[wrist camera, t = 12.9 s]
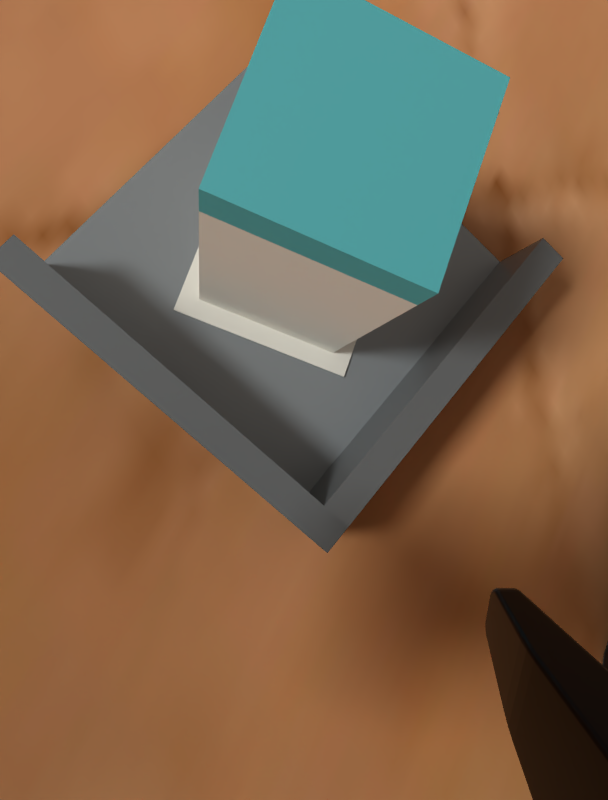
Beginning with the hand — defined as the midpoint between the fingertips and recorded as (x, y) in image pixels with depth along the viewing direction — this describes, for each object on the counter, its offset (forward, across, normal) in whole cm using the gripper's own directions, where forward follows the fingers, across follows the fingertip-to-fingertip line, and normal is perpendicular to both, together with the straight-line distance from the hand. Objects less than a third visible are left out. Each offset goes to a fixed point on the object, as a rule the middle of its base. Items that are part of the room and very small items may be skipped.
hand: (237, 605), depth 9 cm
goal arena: (+16, 0, -3) cm, 16 cm away
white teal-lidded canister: (+16, 0, -3) cm, 16 cm away
